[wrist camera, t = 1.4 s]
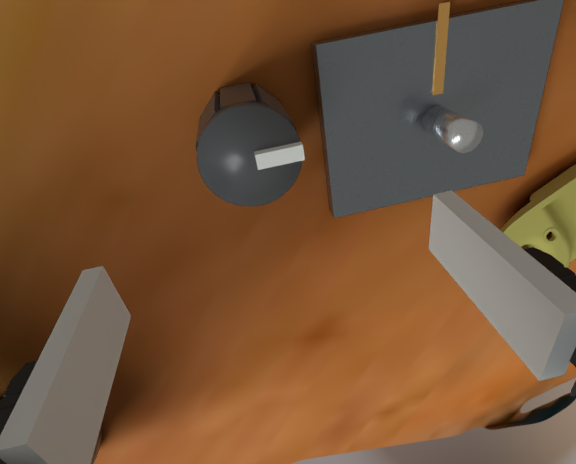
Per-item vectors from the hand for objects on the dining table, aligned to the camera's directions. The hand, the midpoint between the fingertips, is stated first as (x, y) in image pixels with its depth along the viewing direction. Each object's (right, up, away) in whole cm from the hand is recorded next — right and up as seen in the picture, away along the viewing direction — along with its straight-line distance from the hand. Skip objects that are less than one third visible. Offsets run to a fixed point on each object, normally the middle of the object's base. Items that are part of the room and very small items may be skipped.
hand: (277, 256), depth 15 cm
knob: (-3, +9, +14) cm, 17 cm away
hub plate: (+12, +11, +16) cm, 22 cm away
